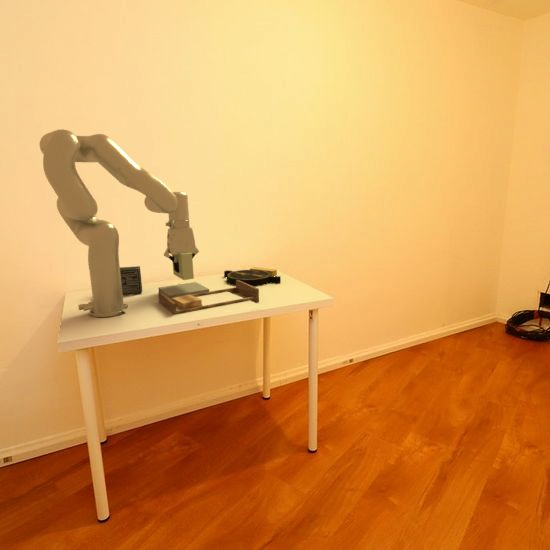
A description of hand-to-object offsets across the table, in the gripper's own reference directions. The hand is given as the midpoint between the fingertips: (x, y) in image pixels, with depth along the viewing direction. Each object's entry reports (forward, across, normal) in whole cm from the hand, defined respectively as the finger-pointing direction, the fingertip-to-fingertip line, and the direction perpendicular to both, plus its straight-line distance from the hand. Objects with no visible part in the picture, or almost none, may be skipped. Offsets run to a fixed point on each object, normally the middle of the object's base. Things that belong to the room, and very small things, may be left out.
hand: (183, 270), depth 151 cm
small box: (+10, -18, +15) cm, 26 cm away
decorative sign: (+11, +35, +6) cm, 37 cm away
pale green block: (+2, 0, 0) cm, 2 cm away
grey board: (+10, 0, 0) cm, 10 cm away
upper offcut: (+8, -5, -17) cm, 20 cm away
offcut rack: (+10, +4, -17) cm, 20 cm away
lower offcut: (+10, -5, -17) cm, 21 cm away
